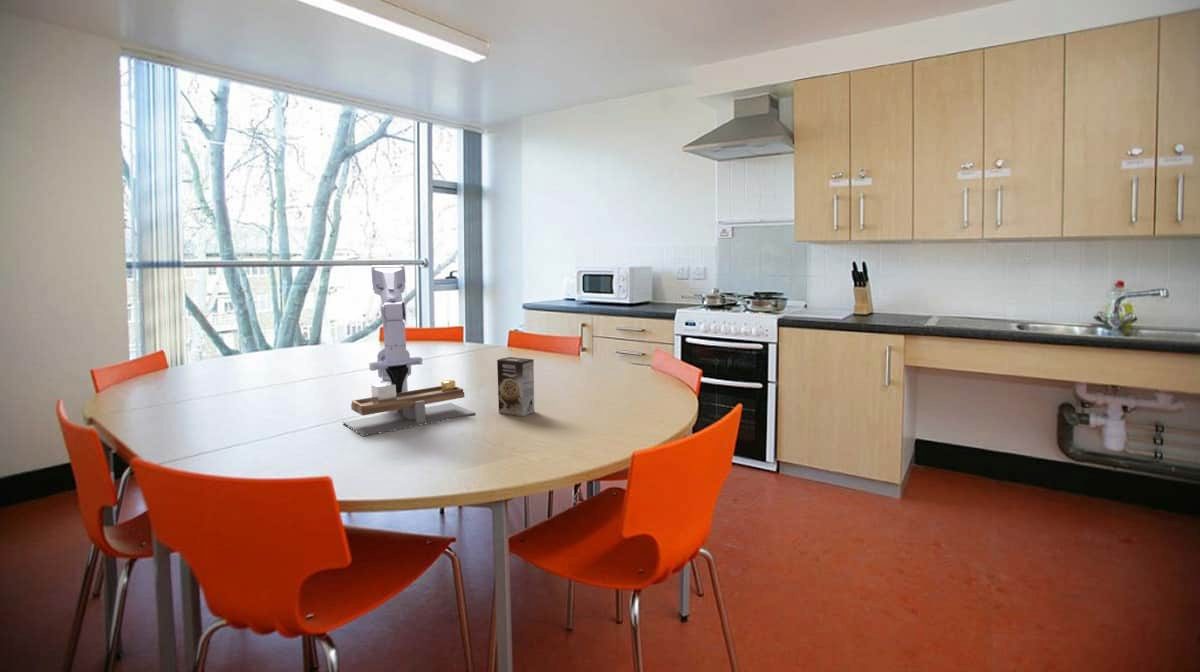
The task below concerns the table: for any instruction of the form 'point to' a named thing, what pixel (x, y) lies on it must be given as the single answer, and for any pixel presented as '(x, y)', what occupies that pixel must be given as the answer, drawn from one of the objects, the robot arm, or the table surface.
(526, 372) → the coffee box
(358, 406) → the beam
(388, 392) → the steel block
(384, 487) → the table surface
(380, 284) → the robot arm
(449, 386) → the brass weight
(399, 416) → the beam stand
